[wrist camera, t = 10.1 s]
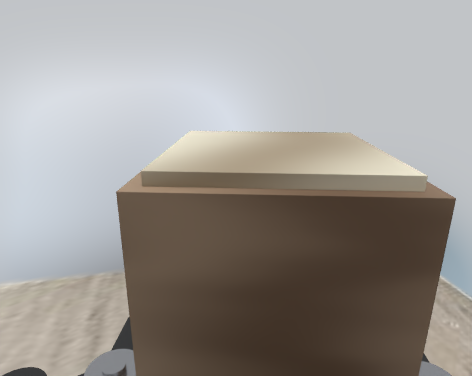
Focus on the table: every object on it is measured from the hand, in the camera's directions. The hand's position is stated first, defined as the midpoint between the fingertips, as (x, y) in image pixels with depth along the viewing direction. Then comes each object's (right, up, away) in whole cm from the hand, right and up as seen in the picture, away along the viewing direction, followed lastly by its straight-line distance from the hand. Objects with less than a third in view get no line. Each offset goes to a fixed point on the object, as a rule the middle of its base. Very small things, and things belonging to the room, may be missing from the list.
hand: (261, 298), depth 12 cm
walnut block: (0, -7, 0) cm, 7 cm away
